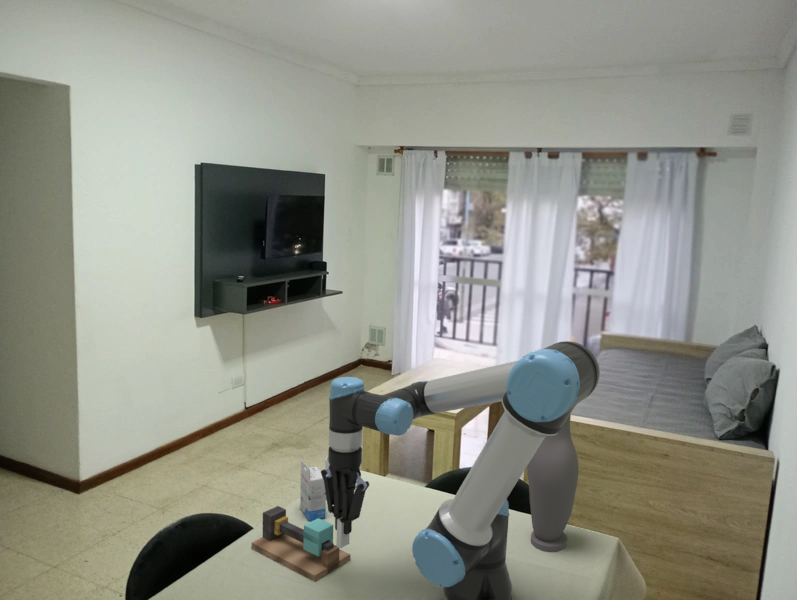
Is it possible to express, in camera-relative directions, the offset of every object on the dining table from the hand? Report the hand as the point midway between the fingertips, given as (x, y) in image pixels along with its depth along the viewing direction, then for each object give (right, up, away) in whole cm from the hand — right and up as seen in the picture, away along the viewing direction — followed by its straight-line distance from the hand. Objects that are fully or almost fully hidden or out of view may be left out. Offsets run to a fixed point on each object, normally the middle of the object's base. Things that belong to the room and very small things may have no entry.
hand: (342, 544), depth 147 cm
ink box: (-11, -3, +31) cm, 33 cm away
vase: (+52, -7, +20) cm, 56 cm away
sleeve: (-6, -3, +5) cm, 9 cm away
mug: (-5, -2, +43) cm, 43 cm away
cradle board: (-11, -6, +9) cm, 16 cm away
